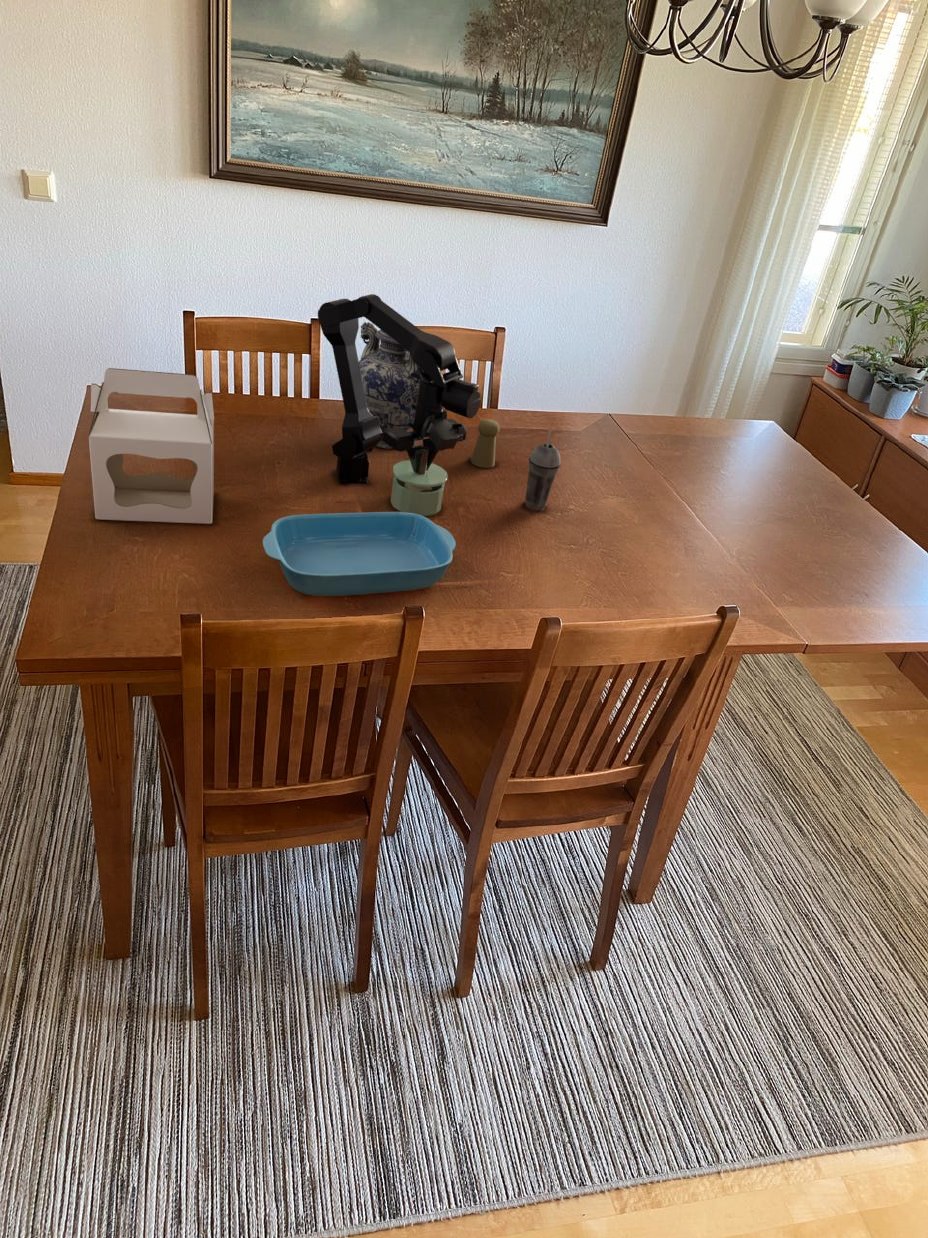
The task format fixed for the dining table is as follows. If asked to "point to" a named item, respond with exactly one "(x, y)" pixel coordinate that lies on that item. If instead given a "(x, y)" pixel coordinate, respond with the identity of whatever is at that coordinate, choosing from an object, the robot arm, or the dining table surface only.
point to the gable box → (151, 450)
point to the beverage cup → (541, 474)
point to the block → (417, 488)
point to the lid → (420, 473)
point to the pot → (416, 499)
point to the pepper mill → (485, 444)
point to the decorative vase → (387, 380)
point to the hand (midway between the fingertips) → (420, 471)
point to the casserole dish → (359, 552)
